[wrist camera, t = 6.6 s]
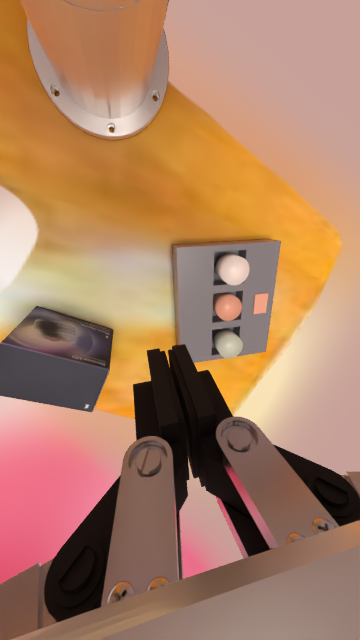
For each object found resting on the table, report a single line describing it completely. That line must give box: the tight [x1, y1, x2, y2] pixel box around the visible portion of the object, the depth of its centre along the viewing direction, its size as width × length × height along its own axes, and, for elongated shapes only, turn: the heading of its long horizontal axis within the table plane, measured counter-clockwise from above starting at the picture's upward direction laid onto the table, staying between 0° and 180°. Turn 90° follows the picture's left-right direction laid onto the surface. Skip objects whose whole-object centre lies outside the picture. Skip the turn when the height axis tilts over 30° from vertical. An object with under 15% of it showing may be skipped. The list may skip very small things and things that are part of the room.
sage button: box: [213, 329, 243, 359], centre depth 35 cm, size 4×4×2 cm
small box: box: [0, 306, 113, 412], centre depth 29 cm, size 11×6×10 cm, turn 65°
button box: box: [172, 239, 281, 363], centre depth 35 cm, size 17×14×3 cm
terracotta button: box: [213, 292, 242, 321], centre depth 34 cm, size 4×4×2 cm
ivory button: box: [215, 253, 249, 285], centre depth 31 cm, size 4×4×2 cm
